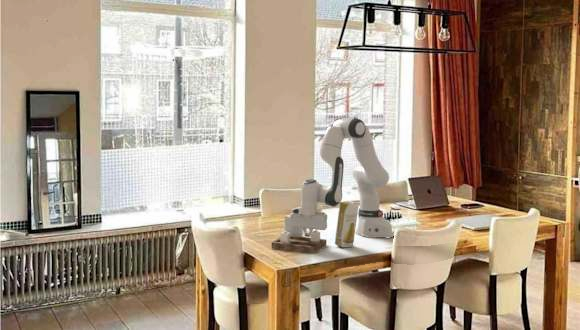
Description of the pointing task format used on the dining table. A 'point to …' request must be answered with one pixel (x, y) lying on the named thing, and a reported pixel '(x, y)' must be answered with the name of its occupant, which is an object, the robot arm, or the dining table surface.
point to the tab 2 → (315, 236)
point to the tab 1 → (285, 237)
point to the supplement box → (292, 228)
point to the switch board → (300, 244)
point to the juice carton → (346, 224)
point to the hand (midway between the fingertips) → (307, 236)
